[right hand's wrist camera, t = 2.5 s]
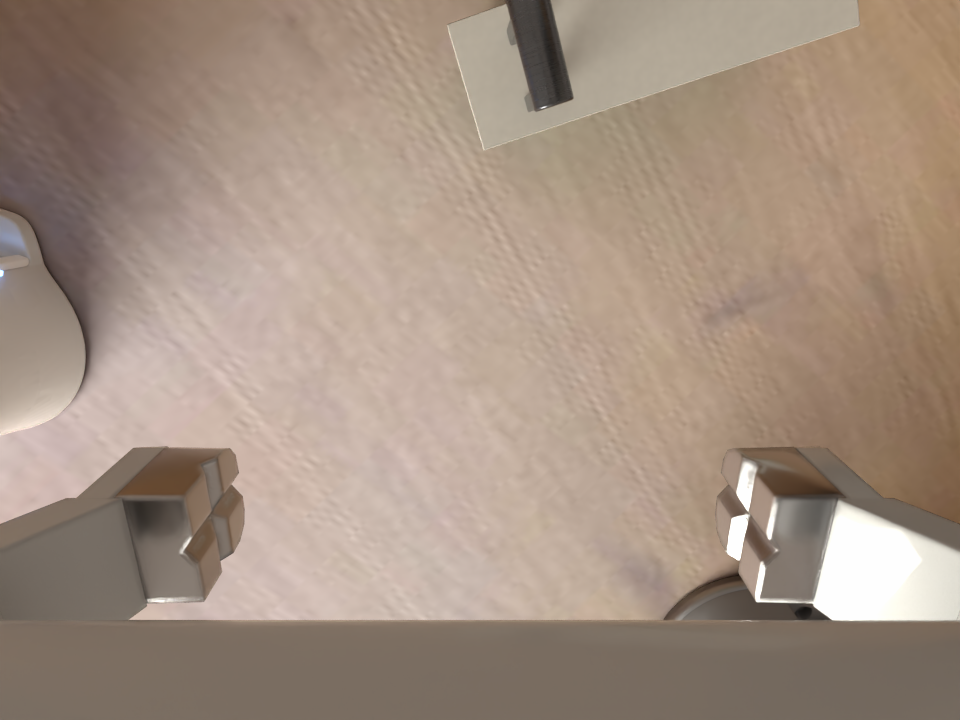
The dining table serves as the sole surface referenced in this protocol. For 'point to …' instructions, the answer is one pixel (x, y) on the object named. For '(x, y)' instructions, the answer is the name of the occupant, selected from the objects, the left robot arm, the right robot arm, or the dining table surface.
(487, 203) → the dining table surface
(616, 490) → the dining table surface
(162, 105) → the dining table surface
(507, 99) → the door
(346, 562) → the dining table surface
